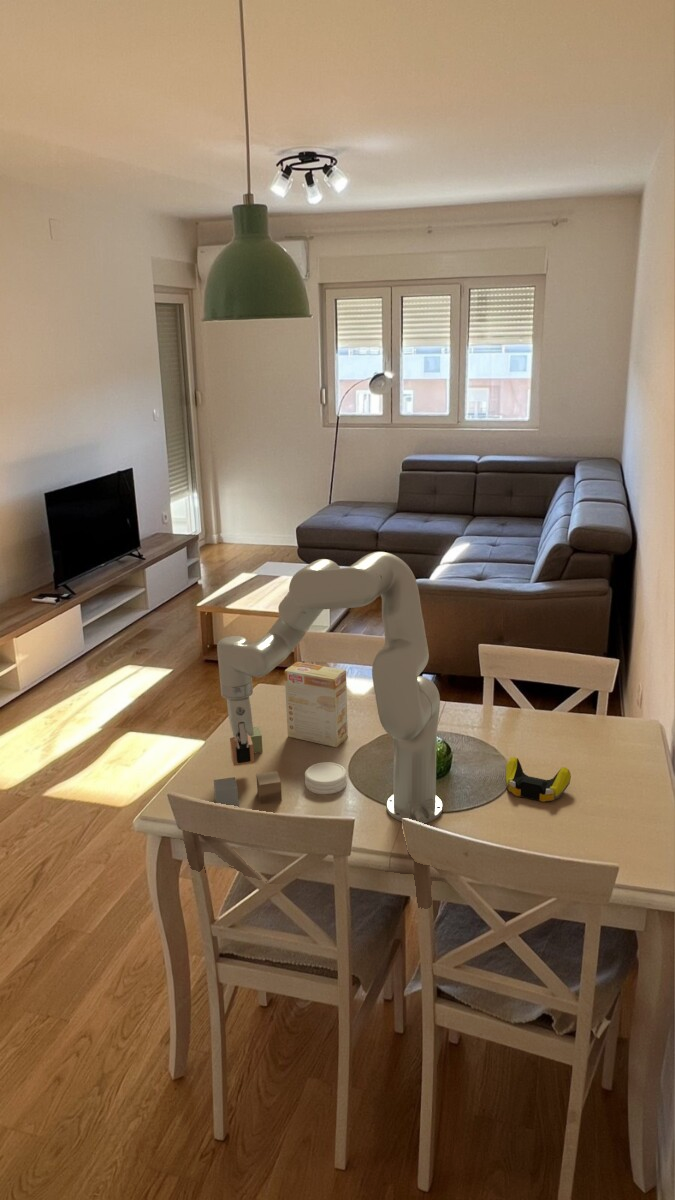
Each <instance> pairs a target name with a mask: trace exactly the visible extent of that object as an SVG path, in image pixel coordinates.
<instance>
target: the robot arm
mask: <svg viewBox="0 0 675 1200" xmlns="http://www.w3.org/2000/svg"><path fill="white" fill-rule="evenodd" d="M419 590H420V589H419V586H418V583H417V580H416V576H415V575H414V573H413V571H412V570H411V567H409V565H408V563H406V562H405V561H404V560H403V559H401V558H400V557H398V556H397V555H394V553H393V554H392V553H390V552H385V551H374V552H371V553H368V554H366V555H364V556H362V557H361V558H360V559H358V560H357V561H356V562H353V564H351V565H350V566H348V567H340V566H339V565H338V564H337V562H335V561H333V560H331V559H326V558H321V559H320V558H319V559H317V560H315V561H312V562H310V563H309V564H306V566H304V567H303V568H301V569H299V570H298V571H297V572H296V573H294V574H293V576H292V577H291V579H290V582H289V587H288V592H287V593H286V595H285V597H284V598H282V600H281V601H280V603H279V604H278V609H277V611H278V614H279V617H278V618H277V620H276V621H275V622H274V624H273V625H272V626H271V628H270V629H269V630H268V631H267V632H266V634H264V635H263V636H262V637H260V638H259V639H257V640H255V641H254V642H251V643H249V640H248V639H247V638H245V637H244V636H239V635H231V636H226V637H223V638H221V639H220V640H219V641H218V642H217V646H216V651H217V661H218V662H217V663H218V672H219V673H218V675H219V683H220V686H219V687H220V696H221V698H223V699H225V700H226V704H227V713H228V719H229V724H230V729H231V732H232V736H233V737H232V738H234V737H235V738H236V742H237V748H236V754H237V762H238V763H244V762H250V761H251V759H250V747H249V743H248V735H249V736H253V735H254V732H253V728H254V727H253V726H254V725H253V717H252V716H253V714H252V706H251V705H252V704H251V698H250V697H251V696H252V695H253V694H254V689H253V687H254V686H253V678H262V677H265V676H266V675H268V674H269V673H270V672H272V671H273V670H275V668H276V667H278V666H279V665H281V663H282V662H284V661H285V660H286V659H287V658H288V657H289V656H290V655H291V654H292V652H293V651H294V650H295V648H296V647H297V646H298V645H299V643H300V642H301V641H302V640H303V638H304V637H305V636H306V634H307V632H308V631H309V630H310V628H311V626H312V625H313V624H314V622H315V621H316V620H317V619H318V617H319V616H320V615H321V613H323V611H324V610H337V609H352V608H353V609H354V608H361V607H365V606H368V605H369V604H372V603H373V602H374V601H376V599H377V598H379V597H381V621H382V625H383V631H384V632H383V633H384V645H383V646H382V648H380V649H379V651H378V652H377V653H376V654H375V656H374V659H373V661H372V667H371V676H372V685H373V690H374V694H375V701H376V707H377V712H378V713H377V715H378V719H379V721H380V724H381V726H382V728H383V730H384V731H385V733H386V734H387V735H389V736H390V737H391V738H393V740H392V742H393V746H392V747H393V748H392V749H393V751H392V752H393V753H392V754H393V755H392V756H393V758H392V760H393V761H392V762H393V765H392V766H393V767H392V769H393V770H392V771H393V772H392V773H393V777H392V778H393V780H392V781H393V784H392V785H393V791H392V792H393V794H392V795H391V796H390V797H389V798H388V799H387V801H386V811H387V813H388V814H389V815H390V816H391V817H392V818H394V819H395V820H397V821H399V822H402V821H401V820H402V818H409V819H412V820H416V821H419V822H422V823H425V824H426V823H430V822H432V821H434V820H436V819H437V818H439V817H440V816H441V815H442V812H443V810H444V809H443V801H442V800H441V799H440V798H439V797H438V796H437V795H436V794H437V750H438V746H437V745H438V726H439V719H440V717H439V716H440V709H441V707H440V706H441V699H440V698H441V696H440V693H439V690H438V688H437V686H436V684H435V683H434V682H433V681H432V680H430V679H429V678H428V677H425V676H422V675H421V673H422V672H423V671H424V670H425V668H426V666H427V665H428V662H429V658H430V655H429V654H430V653H429V647H428V646H429V645H428V642H427V635H426V634H427V633H426V628H425V621H424V616H423V612H422V611H423V609H422V605H421V597H420V591H419ZM245 733H246V734H245ZM247 733H248V734H247ZM239 739H241V740H240V741H239Z"/></svg>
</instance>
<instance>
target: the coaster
mask: <svg viewBox="0 0 675 1200" xmlns="http://www.w3.org/2000/svg"><path fill="white" fill-rule="evenodd" d="M347 774H348V773H347V770H346V768H345V767H344V766H342V765H341V764H339V763H336V762H330V761H328V762H325V761H324V762H317V763H314V764H311V766H309V767H307V768H306V770H305V772H304V781H305V782H304V784H305V787H306V788H307V791H309V792H312V793H314V794H318V795H332V794H337V793H340V792H342V790H344V789H345V788H346V786H347V783H348V781H347V780H348V777H347Z"/></svg>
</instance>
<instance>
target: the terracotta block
mask: <svg viewBox="0 0 675 1200" xmlns="http://www.w3.org/2000/svg"><path fill="white" fill-rule="evenodd" d="M233 737H234V736H233ZM233 737H229V741H230V754H231V755H230V756H231V759H232V764H233V767H236V766H242V765H249V764H255V754H254V753H253V743H252V740H251V736H249V735H248V743H249V747H250V759H251V761H250V762H244V763H238V762H237V754H236V748H237V742H236V738H235V737H234V738H233ZM240 740H241V739H239V741H240Z"/></svg>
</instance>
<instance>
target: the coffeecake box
mask: <svg viewBox="0 0 675 1200" xmlns="http://www.w3.org/2000/svg"><path fill="white" fill-rule="evenodd" d="M284 686H285V707H286V725H287V737H288V738H292V739H298V740H302V741H305V742H311V743H315V744H320V745H323V746H330V747H333V748H338V747H339V746H340V745H341V743H343V742H344V741H345V740H347V738H348V737H349V735H348V734H349V733H348V732H349V731H348V700H347V699H348V695H347V693H348V692H347V691H348V690H347V687H348V686H347V670H346V669H342V668H337V667H330V666H326V665H324V666H323V665H318V664H313V663H307V662H300V661H296V662H294V663H293V664H292V665H291V666H288V667H287V668H286V669H285V670H284Z"/></svg>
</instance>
